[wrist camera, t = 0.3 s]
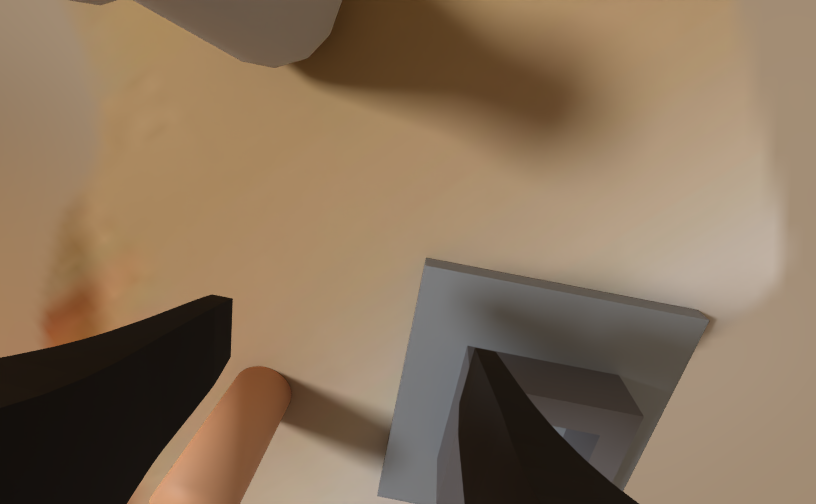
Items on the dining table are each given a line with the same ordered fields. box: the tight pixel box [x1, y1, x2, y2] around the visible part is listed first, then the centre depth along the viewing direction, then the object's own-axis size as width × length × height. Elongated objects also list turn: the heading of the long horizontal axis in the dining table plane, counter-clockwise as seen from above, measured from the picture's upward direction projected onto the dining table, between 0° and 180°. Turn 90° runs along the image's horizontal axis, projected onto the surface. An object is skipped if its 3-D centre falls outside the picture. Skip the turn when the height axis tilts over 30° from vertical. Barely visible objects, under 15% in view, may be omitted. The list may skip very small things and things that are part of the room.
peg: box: [149, 367, 291, 504], centre depth 22 cm, size 4×4×8 cm
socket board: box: [377, 258, 709, 504], centre depth 23 cm, size 16×14×4 cm
